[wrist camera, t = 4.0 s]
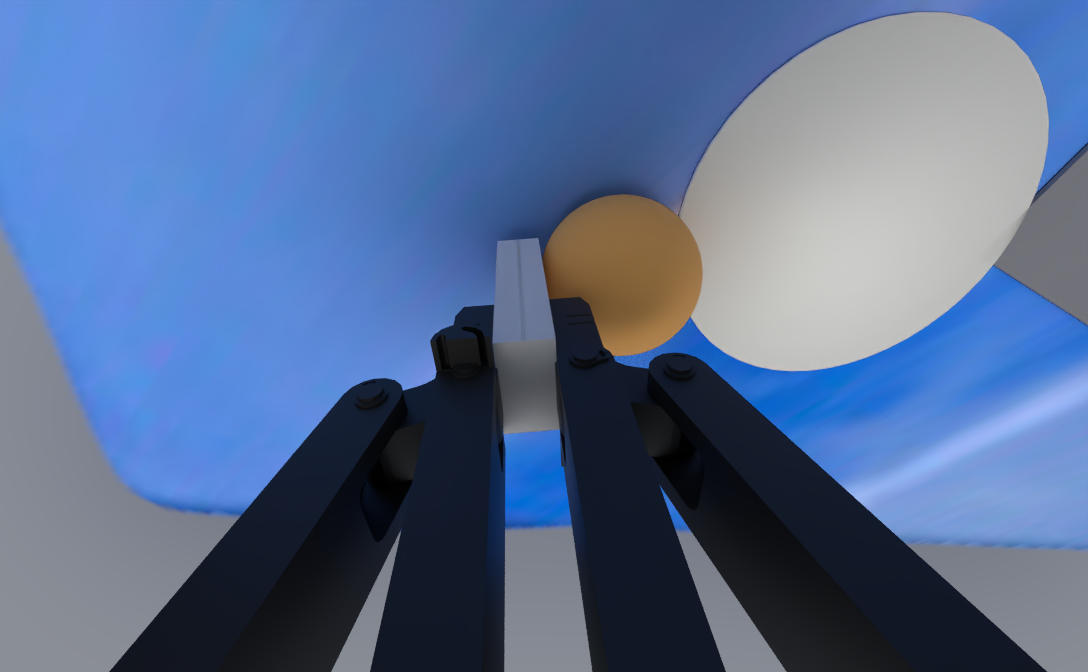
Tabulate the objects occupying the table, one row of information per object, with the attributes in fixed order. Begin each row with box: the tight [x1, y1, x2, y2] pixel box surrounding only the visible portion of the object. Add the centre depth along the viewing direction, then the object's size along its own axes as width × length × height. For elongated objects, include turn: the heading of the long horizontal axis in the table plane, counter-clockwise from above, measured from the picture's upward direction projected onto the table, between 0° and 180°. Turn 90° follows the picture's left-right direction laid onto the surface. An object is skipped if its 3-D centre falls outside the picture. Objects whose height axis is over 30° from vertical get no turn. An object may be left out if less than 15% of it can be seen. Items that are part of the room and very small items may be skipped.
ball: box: [542, 194, 703, 356], centre depth 16 cm, size 6×6×6 cm
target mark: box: [679, 12, 1049, 371], centre depth 18 cm, size 14×14×1 cm
